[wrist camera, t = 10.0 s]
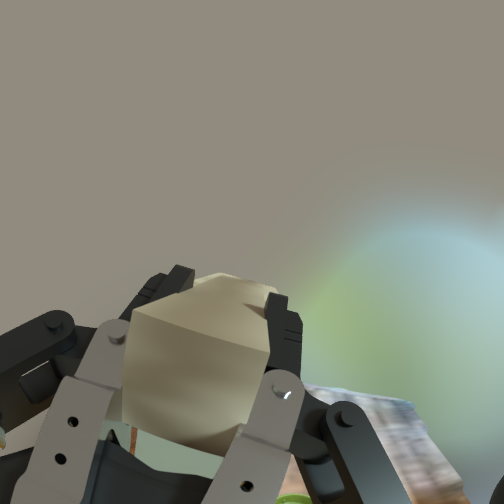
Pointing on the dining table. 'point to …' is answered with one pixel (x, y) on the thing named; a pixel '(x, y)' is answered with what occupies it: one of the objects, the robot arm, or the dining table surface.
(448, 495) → the dining table surface
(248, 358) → the beige long bar
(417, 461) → the dining table surface
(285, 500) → the plant pot
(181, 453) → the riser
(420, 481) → the dining table surface
